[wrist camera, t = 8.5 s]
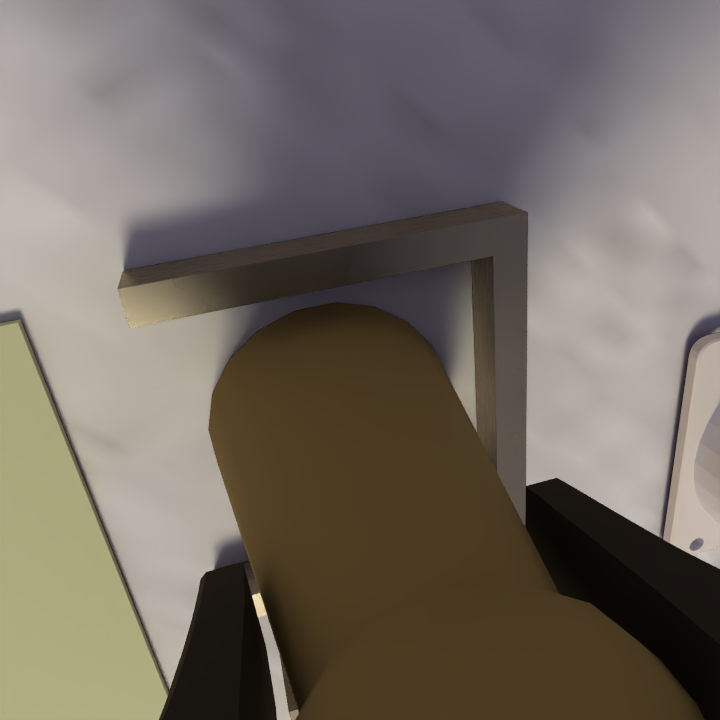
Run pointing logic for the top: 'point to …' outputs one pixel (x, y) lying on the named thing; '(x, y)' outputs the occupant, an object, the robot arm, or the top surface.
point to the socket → (368, 262)
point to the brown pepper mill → (403, 541)
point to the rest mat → (59, 572)
